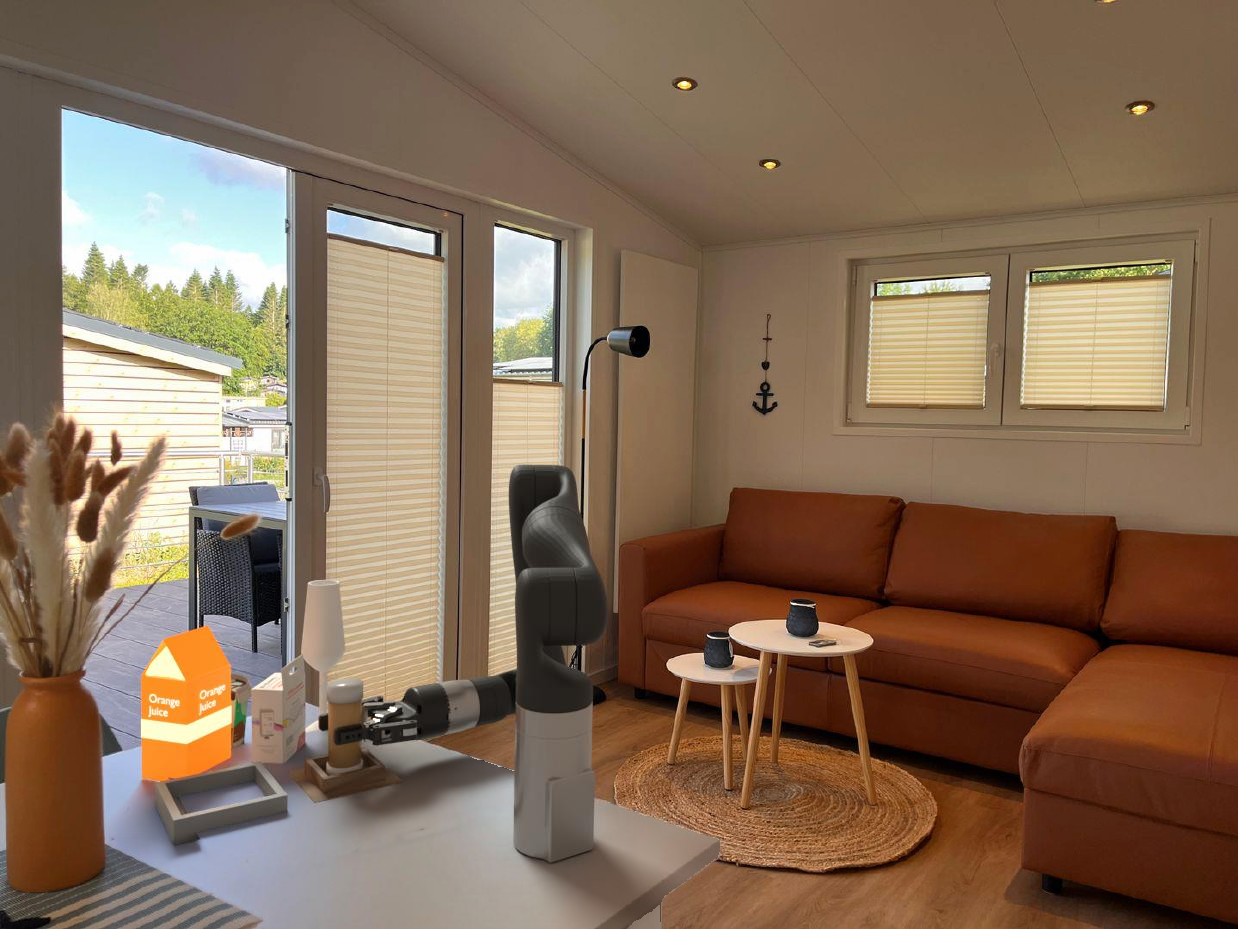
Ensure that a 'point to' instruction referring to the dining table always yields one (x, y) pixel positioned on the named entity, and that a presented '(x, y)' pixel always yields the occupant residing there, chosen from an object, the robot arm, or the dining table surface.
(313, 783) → the walnut block
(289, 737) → the ink cartridge box
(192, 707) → the orange juice
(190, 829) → the grey parts tray
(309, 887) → the dining table surface
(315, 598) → the champagne flute
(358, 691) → the cartridge fuse
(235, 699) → the food container
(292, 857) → the dining table surface
